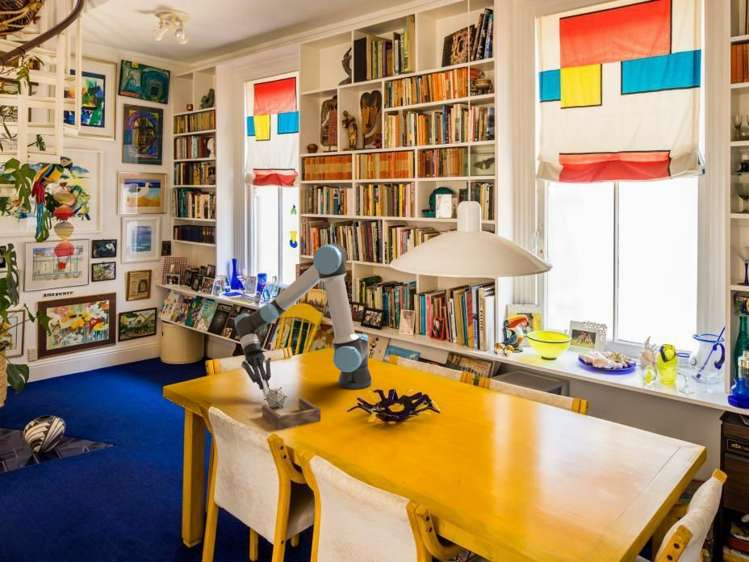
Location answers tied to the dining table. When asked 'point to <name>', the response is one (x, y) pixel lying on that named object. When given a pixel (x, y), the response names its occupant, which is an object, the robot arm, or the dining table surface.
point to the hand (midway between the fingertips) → (267, 395)
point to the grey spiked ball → (275, 398)
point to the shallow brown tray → (293, 415)
